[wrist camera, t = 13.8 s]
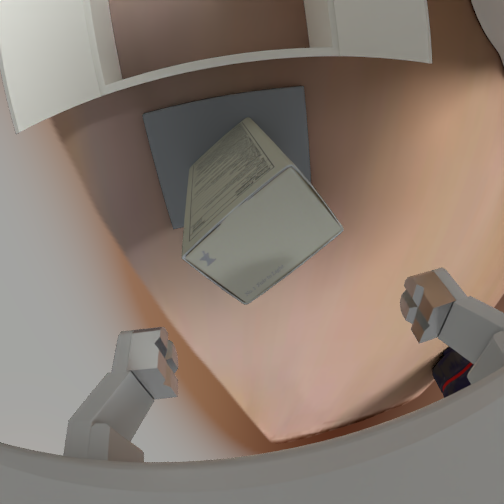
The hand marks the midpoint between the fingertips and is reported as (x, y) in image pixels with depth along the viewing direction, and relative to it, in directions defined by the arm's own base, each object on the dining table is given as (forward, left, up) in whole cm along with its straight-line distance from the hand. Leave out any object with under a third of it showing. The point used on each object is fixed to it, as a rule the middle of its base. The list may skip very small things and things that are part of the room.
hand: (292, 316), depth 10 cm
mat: (0, 0, -17) cm, 17 cm away
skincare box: (0, 0, -17) cm, 17 cm away
